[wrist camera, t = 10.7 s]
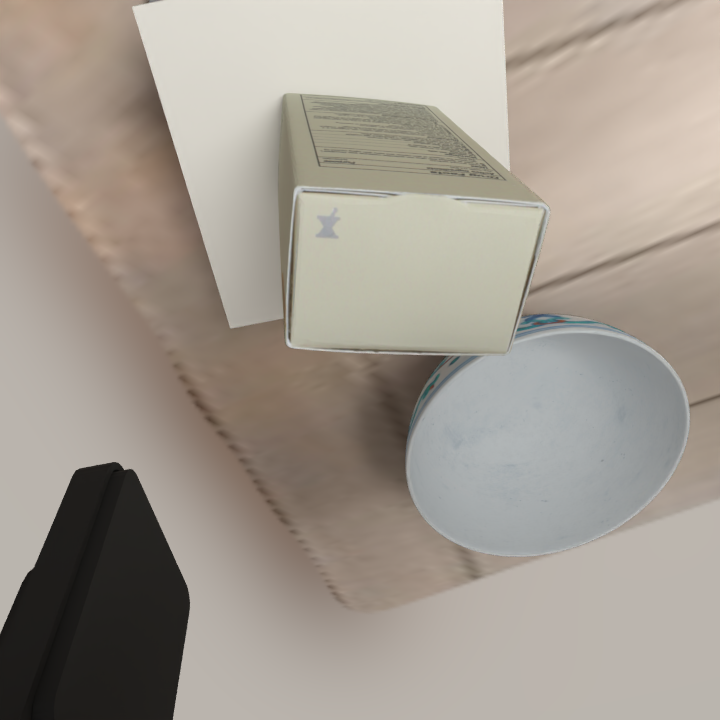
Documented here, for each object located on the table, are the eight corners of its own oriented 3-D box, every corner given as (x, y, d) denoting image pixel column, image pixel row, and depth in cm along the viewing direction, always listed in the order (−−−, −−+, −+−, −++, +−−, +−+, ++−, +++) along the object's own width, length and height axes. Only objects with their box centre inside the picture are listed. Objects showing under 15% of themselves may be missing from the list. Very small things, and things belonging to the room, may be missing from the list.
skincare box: (276, 201, 27) (269, 353, 17) (281, 88, 25) (277, 182, 15) (430, 213, 28) (514, 365, 18) (448, 105, 26) (557, 204, 15)
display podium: (466, -76, 29) (513, -84, 23) (486, 228, 36) (525, 282, 30) (149, -15, 29) (112, -7, 23) (233, 277, 36) (222, 340, 30)
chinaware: (347, 328, 39) (360, 405, 32) (596, 221, 37) (664, 280, 30) (435, 499, 46) (460, 589, 40) (645, 418, 44) (708, 499, 38)
